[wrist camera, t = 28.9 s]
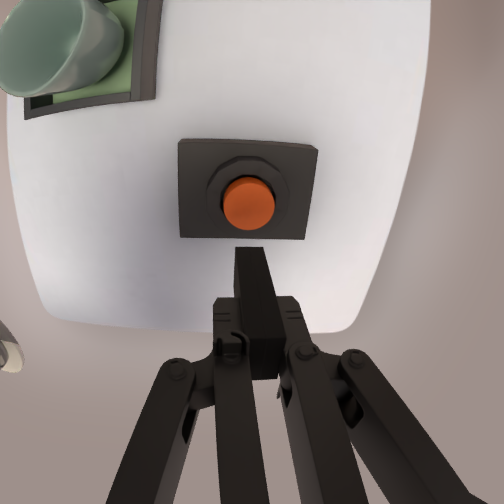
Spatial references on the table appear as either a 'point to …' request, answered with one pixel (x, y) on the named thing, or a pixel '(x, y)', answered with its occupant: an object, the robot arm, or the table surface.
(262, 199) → the button
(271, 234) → the button box
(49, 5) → the cup
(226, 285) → the table surface
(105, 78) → the tray
